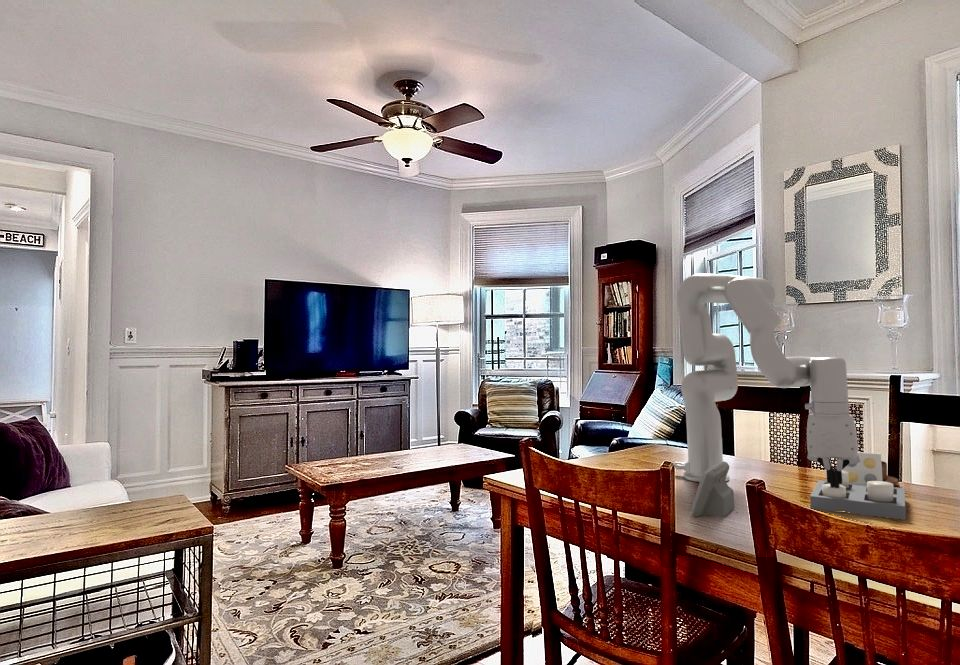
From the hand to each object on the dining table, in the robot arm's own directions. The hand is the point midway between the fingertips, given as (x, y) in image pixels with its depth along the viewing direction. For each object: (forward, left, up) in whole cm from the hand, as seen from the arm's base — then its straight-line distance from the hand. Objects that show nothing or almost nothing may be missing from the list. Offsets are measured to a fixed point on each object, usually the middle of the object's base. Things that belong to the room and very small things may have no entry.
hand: (834, 486), depth 136 cm
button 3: (+9, 0, -2) cm, 9 cm away
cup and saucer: (+6, +29, -5) cm, 30 cm away
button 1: (0, 0, -4) cm, 4 cm away
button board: (+4, +5, -5) cm, 8 cm away
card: (+4, +19, -5) cm, 20 cm away
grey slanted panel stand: (-24, -16, -5) cm, 29 cm away
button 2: (0, +9, -2) cm, 9 cm away
